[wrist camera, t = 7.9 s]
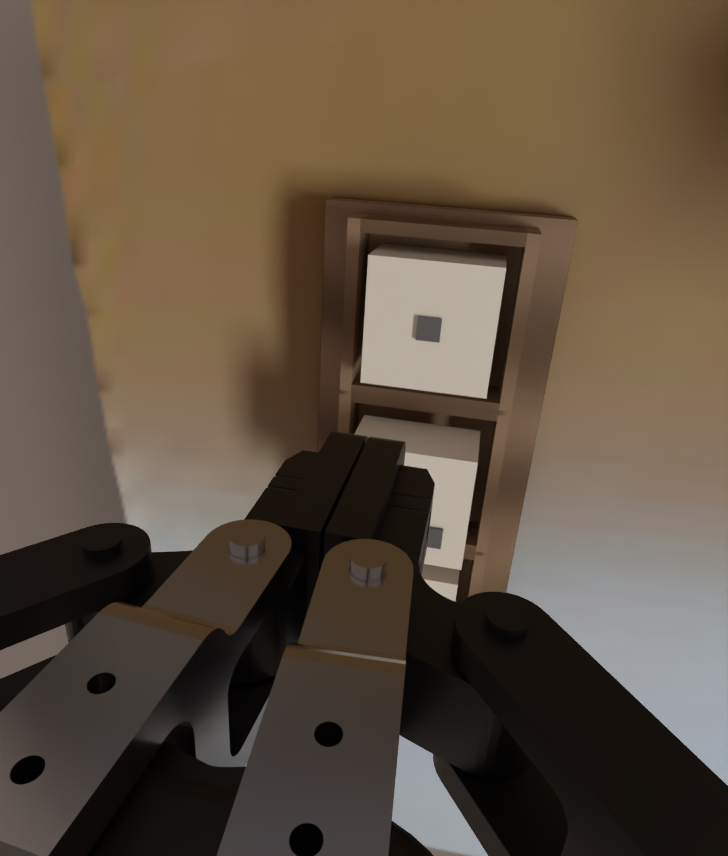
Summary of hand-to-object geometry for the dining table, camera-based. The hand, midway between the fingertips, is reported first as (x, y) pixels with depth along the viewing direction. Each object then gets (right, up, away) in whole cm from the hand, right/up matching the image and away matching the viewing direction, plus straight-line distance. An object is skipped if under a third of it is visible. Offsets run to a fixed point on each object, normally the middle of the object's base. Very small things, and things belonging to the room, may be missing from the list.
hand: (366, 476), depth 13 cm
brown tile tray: (+3, 0, +18) cm, 18 cm away
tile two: (+2, -1, +15) cm, 15 cm away
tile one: (+3, +6, +14) cm, 15 cm away
